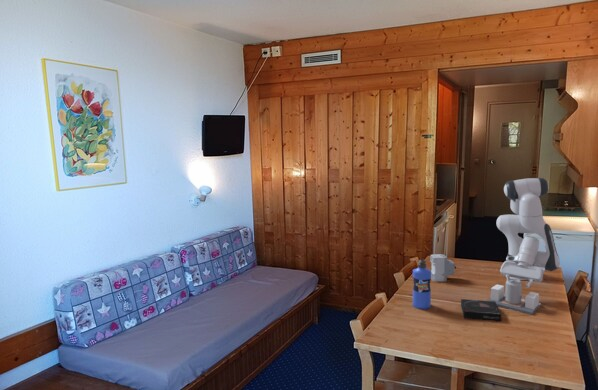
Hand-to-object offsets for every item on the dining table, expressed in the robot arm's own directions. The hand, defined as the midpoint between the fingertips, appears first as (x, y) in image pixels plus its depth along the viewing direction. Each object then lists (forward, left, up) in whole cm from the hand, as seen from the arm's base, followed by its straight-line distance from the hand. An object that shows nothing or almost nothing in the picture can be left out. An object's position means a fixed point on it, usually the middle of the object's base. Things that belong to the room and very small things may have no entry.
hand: (517, 285), depth 219 cm
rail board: (+4, 0, -10) cm, 10 cm away
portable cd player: (+25, -9, -10) cm, 29 cm away
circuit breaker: (-10, -46, -10) cm, 48 cm away
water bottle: (+36, -35, -10) cm, 51 cm away
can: (+4, 0, -8) cm, 10 cm away
